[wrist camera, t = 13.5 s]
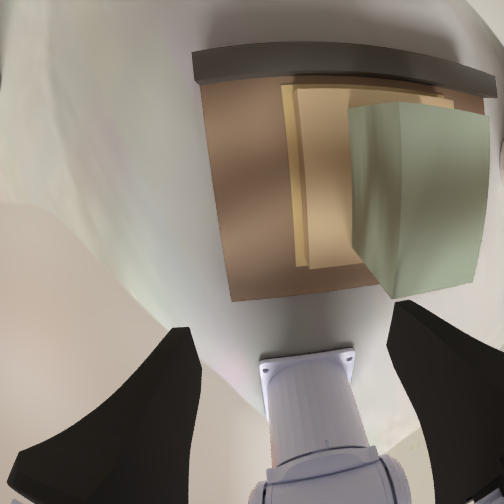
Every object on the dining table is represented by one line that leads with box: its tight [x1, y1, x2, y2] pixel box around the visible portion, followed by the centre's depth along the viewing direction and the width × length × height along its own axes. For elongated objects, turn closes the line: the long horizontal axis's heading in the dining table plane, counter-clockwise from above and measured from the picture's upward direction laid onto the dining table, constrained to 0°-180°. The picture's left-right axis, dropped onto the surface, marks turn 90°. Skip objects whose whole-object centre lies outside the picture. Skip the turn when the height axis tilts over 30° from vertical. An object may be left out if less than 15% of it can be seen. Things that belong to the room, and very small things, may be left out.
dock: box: [192, 42, 498, 302], centre depth 15 cm, size 14×18×4 cm
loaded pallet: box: [292, 88, 490, 299], centre depth 11 cm, size 9×9×6 cm
